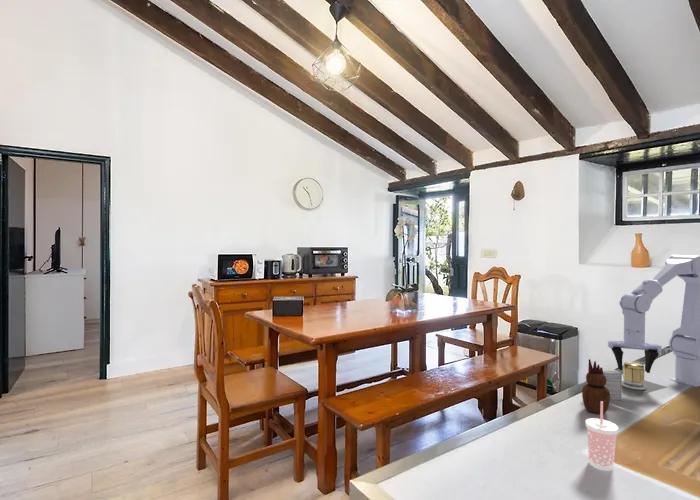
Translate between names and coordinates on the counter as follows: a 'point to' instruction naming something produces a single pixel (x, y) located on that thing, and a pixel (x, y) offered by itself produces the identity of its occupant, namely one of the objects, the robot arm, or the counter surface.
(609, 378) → the medicine box
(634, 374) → the cap
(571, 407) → the counter surface
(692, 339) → the robot arm
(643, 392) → the mat
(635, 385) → the stud post
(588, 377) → the wooden figurine
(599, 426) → the beverage cup
